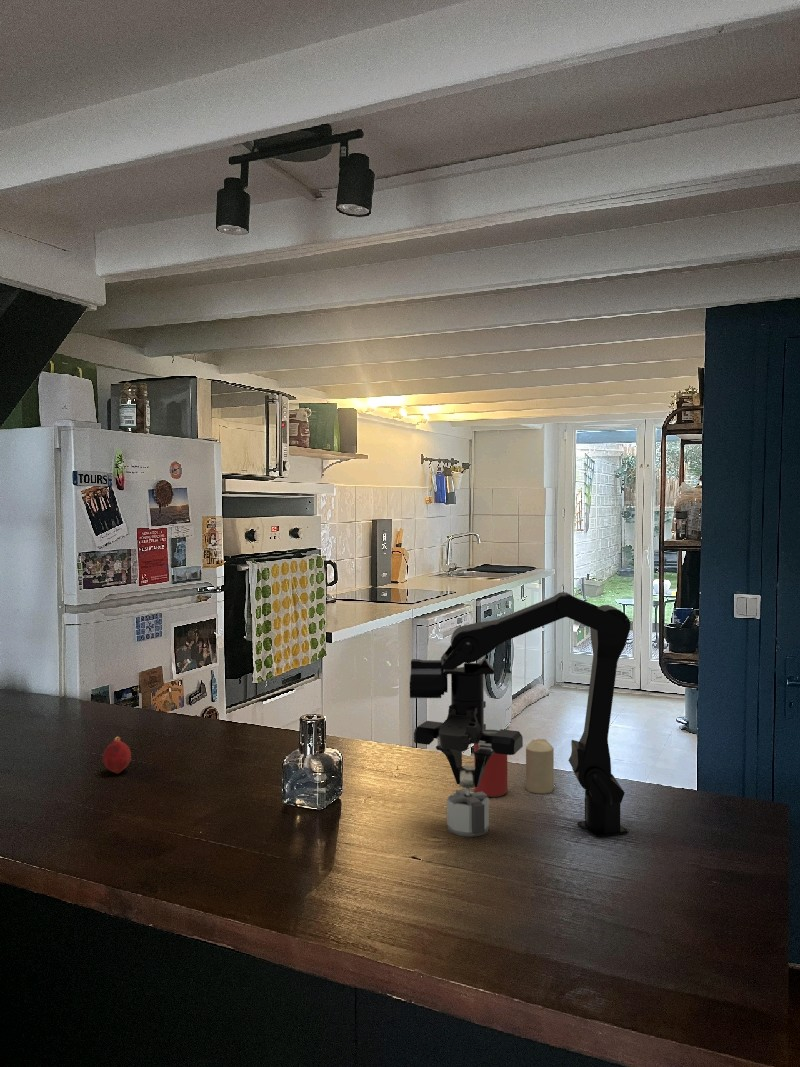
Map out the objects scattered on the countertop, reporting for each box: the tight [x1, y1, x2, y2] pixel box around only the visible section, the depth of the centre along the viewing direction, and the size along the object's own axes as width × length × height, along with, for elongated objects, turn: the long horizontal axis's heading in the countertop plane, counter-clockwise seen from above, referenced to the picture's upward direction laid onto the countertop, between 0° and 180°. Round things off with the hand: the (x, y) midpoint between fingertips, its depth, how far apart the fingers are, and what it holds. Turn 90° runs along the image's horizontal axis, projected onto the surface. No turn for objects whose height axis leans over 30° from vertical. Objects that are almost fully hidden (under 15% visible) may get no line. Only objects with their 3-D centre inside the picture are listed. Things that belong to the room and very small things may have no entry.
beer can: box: [473, 729, 508, 798], centre depth 164 cm, size 7×7×12 cm
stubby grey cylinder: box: [458, 765, 475, 805], centre depth 146 cm, size 5×5×8 cm
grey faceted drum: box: [446, 788, 490, 838], centre depth 146 cm, size 8×7×6 cm
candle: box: [525, 738, 555, 795], centre depth 166 cm, size 6×6×10 cm
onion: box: [102, 736, 132, 775], centre depth 178 cm, size 6×6×8 cm
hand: (467, 785), depth 146 cm, fingers closed on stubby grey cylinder, 3 cm apart
